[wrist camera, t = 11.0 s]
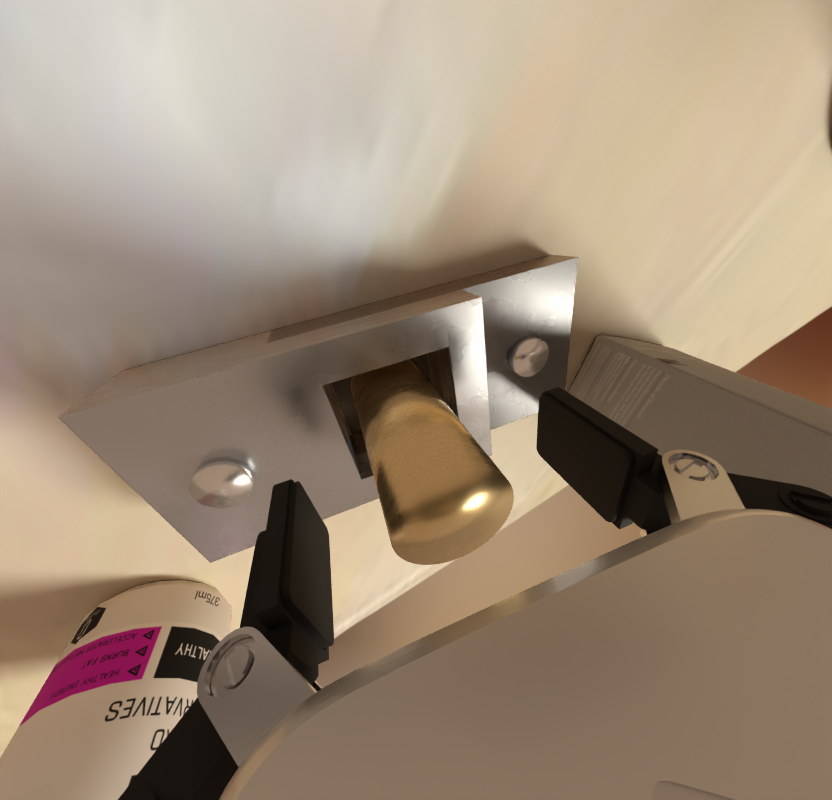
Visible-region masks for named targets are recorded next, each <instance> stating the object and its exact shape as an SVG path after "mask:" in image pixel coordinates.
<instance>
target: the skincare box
mask: <svg viewBox="0 0 832 800" xmlns="http://www.w3.org/2000/svg"><path fill="white" fill-rule="evenodd" d="M568 393H570V394H571V395H573V396H574V397H576V398H578V399H579V400H581V401H582V402H584V403H586V404H587V405H589V406H590V407H592V408H593V409H595V410H597V411H598V412H600V413H601V414H603V415H605V416H606V417H608V418H609V419H611V420H613V421H614V422H616V423H617V424H619V425H621V426H622V427H624V428H625V429H627V430H628V431H630V432H632V433H633V434H635V435H636V436H638V437H640V438H641V439H643V440H644V441H646V442H648V443H649V444H651V445H652V446H654V447H656V448H657V449H659V450H658V452H657V453H658V454H660V455H661V456H663V455H664V454H665V453H667V452H669V451H672V450H689V451H695V452H698V453H701V454H704V455H706V456H708V457H710V458H712V459H714V460H715V461H716V462H718V463H719V464H720V465H721V466H722V467H723V468H724V470H725V471H726V473H732V474H738V475H743V476H749V477H755V478H761V479H767V480H772V481H778V482H784V483H790V484H796V485H801V486H805V487H809V488H812V489H815V490H818V491H820V492H823V493H825V494H827V495H829V496H831V497H832V409H830V408H827V407H825V406H822V405H820V404H817V403H814V402H812V401H809V400H806V399H804V398H801V397H798V396H795V395H793V394H790V393H788V392H785V391H782V390H780V389H777V388H775V387H772V386H769V385H767V384H764V383H761V382H759V381H756V380H753V379H751V378H748V377H745V376H743V375H740V374H738V373H735V372H732V371H730V370H727V369H724V368H722V367H719V366H716V365H714V364H711V363H709V362H706V361H703V360H701V359H698V358H696V357H693V356H690V355H688V354H685V353H683V352H680V351H678V350H675V349H672V348H668V347H665V346H661V345H657V344H652V343H648V342H643V341H639V340H633V339H627V338H621V337H613V336H605V335H602V336H597V338H596V339H595V341H594V343H593V346H592V347H591V349H590V351H589V353H588V355H587V357H586V359H585V361H584V363H583V365H582V367H581V369H580V371H579V373H578V375H577V377H576V378H575V380H574V382H573V384H572V386H571V388H570V390H569V392H568Z"/></svg>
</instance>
